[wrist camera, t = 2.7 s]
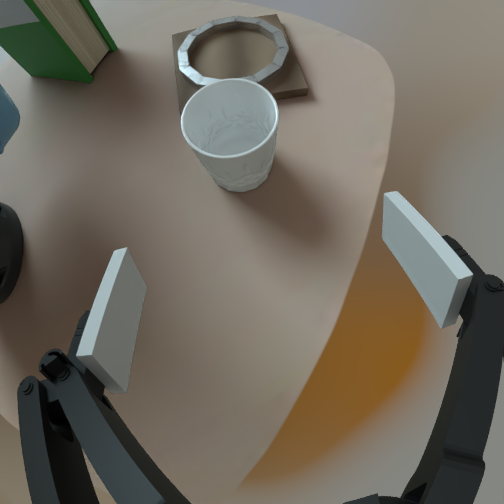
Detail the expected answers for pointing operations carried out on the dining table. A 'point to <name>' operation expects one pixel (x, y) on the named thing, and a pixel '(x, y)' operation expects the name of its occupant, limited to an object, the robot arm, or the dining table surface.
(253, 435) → the dining table surface
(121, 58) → the dining table surface
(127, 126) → the dining table surface
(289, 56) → the ring holder
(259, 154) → the white cup
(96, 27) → the hardback book
